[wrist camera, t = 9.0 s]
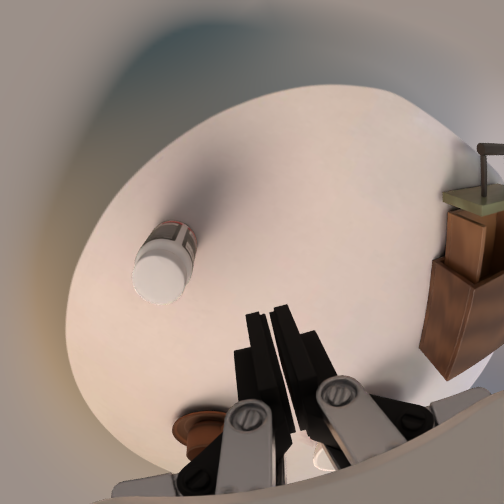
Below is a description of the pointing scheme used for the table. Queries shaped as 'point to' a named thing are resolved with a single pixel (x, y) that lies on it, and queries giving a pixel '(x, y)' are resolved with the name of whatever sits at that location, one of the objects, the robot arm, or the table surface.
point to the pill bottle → (165, 263)
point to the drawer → (477, 225)
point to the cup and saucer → (198, 430)
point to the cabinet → (461, 320)
